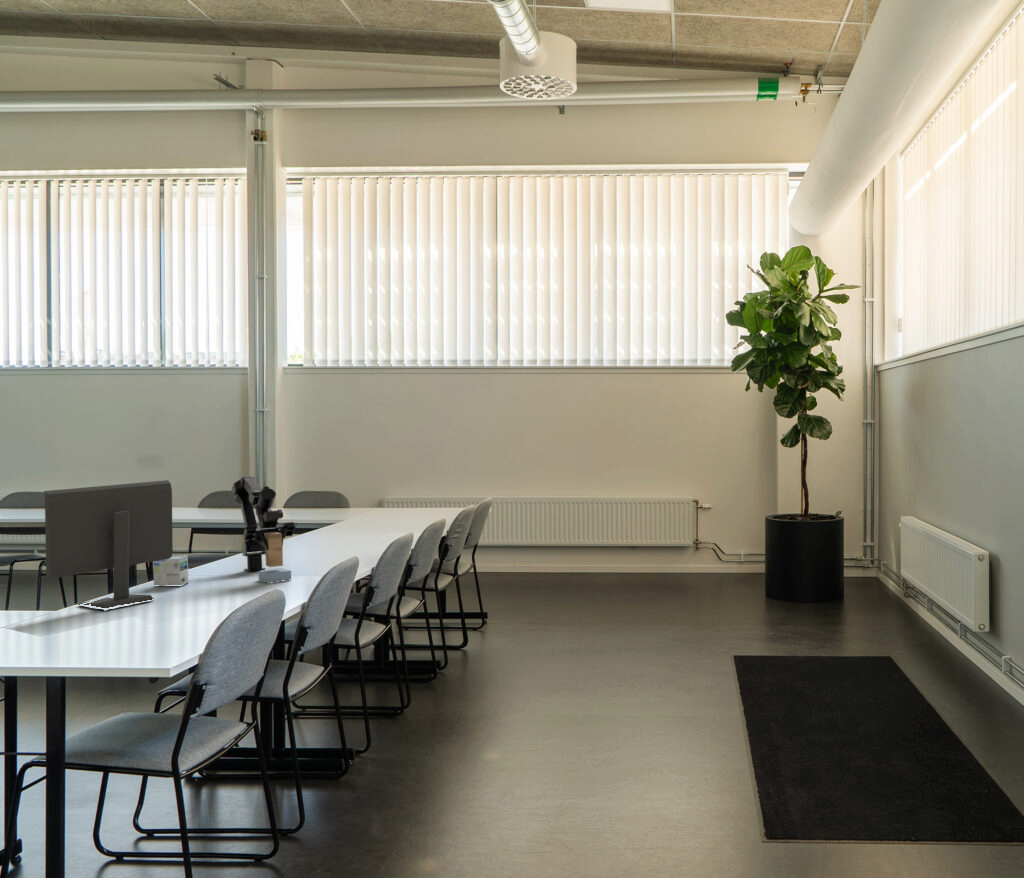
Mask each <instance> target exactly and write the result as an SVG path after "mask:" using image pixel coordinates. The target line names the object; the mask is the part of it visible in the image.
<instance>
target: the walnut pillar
mask: <svg viewBox="0 0 1024 878" xmlns="http://www.w3.org/2000/svg"><path fill="white" fill-rule="evenodd" d="M264 536H265V539H266V541H267V544H268V550H266V549H265V554H264V555H265V566H267V567H268V568H274V567H276V568H277V567H283V566H284V557H283V555H284V554H283V553H284V552H283V547H282V534H281V533H278V532H277V533H266V534H264Z"/></svg>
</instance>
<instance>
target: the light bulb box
mask: <svg viewBox="0 0 1024 878" xmlns="http://www.w3.org/2000/svg"><path fill="white" fill-rule="evenodd" d="M188 559H189V558H188V555H172V557H171V558H169V559H165V560H159V561H153V562H152V571H153V575H152V576H153V586H154V585H159V586H164V585H165V586H166V585H183V584H186V583H188V582H189V581H190V580H189V562H188ZM189 583H190V582H189ZM186 585H187V584H186Z"/></svg>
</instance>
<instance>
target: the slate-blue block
mask: <svg viewBox="0 0 1024 878" xmlns="http://www.w3.org/2000/svg"><path fill="white" fill-rule="evenodd" d="M257 572H258V573H257V574H258V581H259V580H261V581H260V582H262V581H265V582H268V583H270V582H277V581H282V580H289V579H291V580H292V570H290V569H286V568H283V567H276V568H270V569H266V570H260V571H257ZM265 582H264V583H265ZM268 583H267V584H268ZM277 583H278V582H277ZM270 584H271V583H270Z"/></svg>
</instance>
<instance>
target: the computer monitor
mask: <svg viewBox="0 0 1024 878" xmlns="http://www.w3.org/2000/svg"><path fill="white" fill-rule="evenodd" d="M44 516H45V517H44V521H45V522H44V525H45V526H44V527H45V572H46V573H45V575H46V577H45V578H46V580H51V579H52V580H53V579H57V578H63V577H68V576H69V577H70V576H75V575H81V574H87V573H93V572H98V571H105V570H110V569H113V596H112V597H113V598H109V597H110V596H109V597H104V598H99V599H100V600H98V599H96V600H97V601H94V602H91V603H87V602H90V601H91V600H88V601H83V602H80V603H78V604H77V606H78V605H80V604H83V603H87V604H84V605H89V604H91V606H96V607H101V608H109V607H114V606H117V605H124V604H130V603H135V602H142V601H147V600H152V599H154V597H153V596H152V595H151V594H133V593H132V594H130V566H134V565H140V564H147V563H151V562H152V563H153V561H159V560H165V559H169V558H171V557H172V556H173V552H174V551H173V550H174V549H173V543H174V542H173V488H172V484H171V482H170V480H168V479H167V480H166V479H165V480H156V481H143V482H135V483H134V482H133V483H121V484H110V485H100V486H99V485H98V486H87V487H77V488H75V487H74V488H63V489H53V490H52V489H51V490H44ZM152 601H153V600H152Z"/></svg>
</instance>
